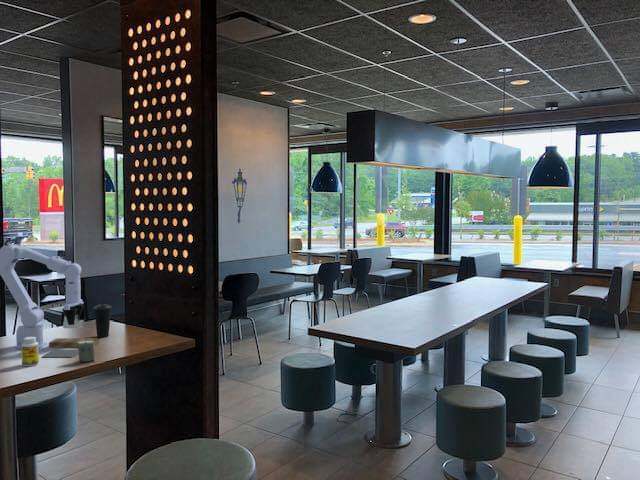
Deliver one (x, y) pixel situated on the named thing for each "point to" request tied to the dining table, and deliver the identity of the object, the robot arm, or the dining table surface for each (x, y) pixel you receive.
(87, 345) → the small box
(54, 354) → the mat
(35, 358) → the supplement bottle
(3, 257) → the robot arm
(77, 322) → the grey stepped block
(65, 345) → the body
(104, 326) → the drinking cup
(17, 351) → the dining table surface
